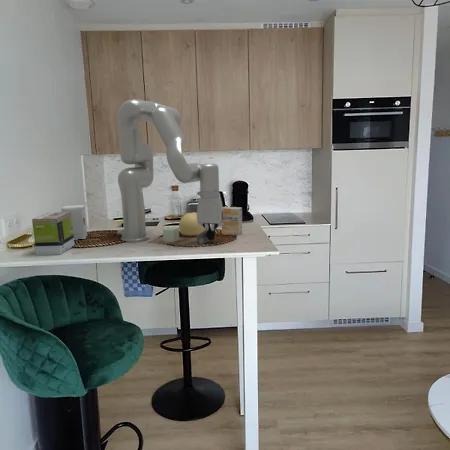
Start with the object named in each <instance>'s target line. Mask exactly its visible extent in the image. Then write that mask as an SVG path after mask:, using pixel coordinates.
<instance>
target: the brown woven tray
mask: <svg viewBox="0 0 450 450" xmlns="http://www.w3.org/2000/svg"><path fill="white" fill-rule="evenodd" d="M210 241H211V240H208V238H207V230H206V229H205V230H204V232H202V233H200V234H198V235H196V237H195V238H194V237H179V240H177V241H175V242H165V241H163V236H159V237H157V238H155V239H152V240H150V241H148V242H147V244H148V243H149V244H164V245H166V244H167V245H183V246H203V245H204V244H207V243H208V242H210Z"/></svg>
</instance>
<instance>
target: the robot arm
mask: <svg viewBox="0 0 450 450" xmlns="http://www.w3.org/2000/svg"><path fill="white" fill-rule="evenodd" d="M137 122H149V123H153V126H154V127H155V129H156V131H157V133H158V134H159V137H160V138H161V140H162V142H163V143H164V145H165V147H166V148H165V149H166V151H165V153H166V159H167V163H168V166H169V168H170V170H171V172H172V173H173V175H174V177H175V178H176V179H177V181H179V182H180V183H183V184H189V183H196V182H199V191H197V194H196V195H197V196H199V197H198V201H197V206H196V213H197V221H198V225H201V226H203V227H204V228H205V229H204V230H205V231H206V230H207V238H208V240H210V241H214V240H215V238H216V230H217V228H218V227H222V226H223V225H224V223H223V218H224V217H223V207H224V206H223V201H222V198H221V197H220V177H219V176H220V175H219V166H218V164H217V163H198V162H193V163H191V162H190V163H188V162H187V160H186V158H185V156H184V155H183V152H182V146H183V143H184V142H185V140H186V137H185V135H184V133H183V132H182V130H181V128H180V124H181V122H182V117H181V114H180V112H179V111H178V110H177V109H176V108H174V107H172V106H167V105H164V104H160V103H158V102H154V101H151V100H150V101H147V100H142V99H134V98H132V99H128V100H126V101H124V102H123V103H122V104H121V105H120V107H119V108H118V110H117V125H118V130H119V131H118V133H119V134H118V137H119V138H118V139H119V155H120V160H121V161H122V162H123V163H124V164H126V165H134V166H133V167H127V168H124V169H122V170H121V171H120V172H119V173H118V176H117V184H118V187H119V191H120V196H121V208H122V211H121V212H122V222H123V229H118V230H117V232H116V234H117V235H121V237H120V241H121V240H124V241H126V242H125V243H138V242H144V241H148V240H150V238H151V237H150V235H149V234H147V230H146V227H147V226H146V213H145V212H146V211H145V198H144V195H143V192H142V190H141V189H144V188H145V189H146V188H148V187H150V186H151V185H152V183H153V181H154V155H153V150H152V148H151V146H150V145H149V144H148V143H146V142H143V141H141V137H140V136H141V135H140V133H141V132H140V128H139V126H138V124H137ZM124 241H123V242H124Z"/></svg>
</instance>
